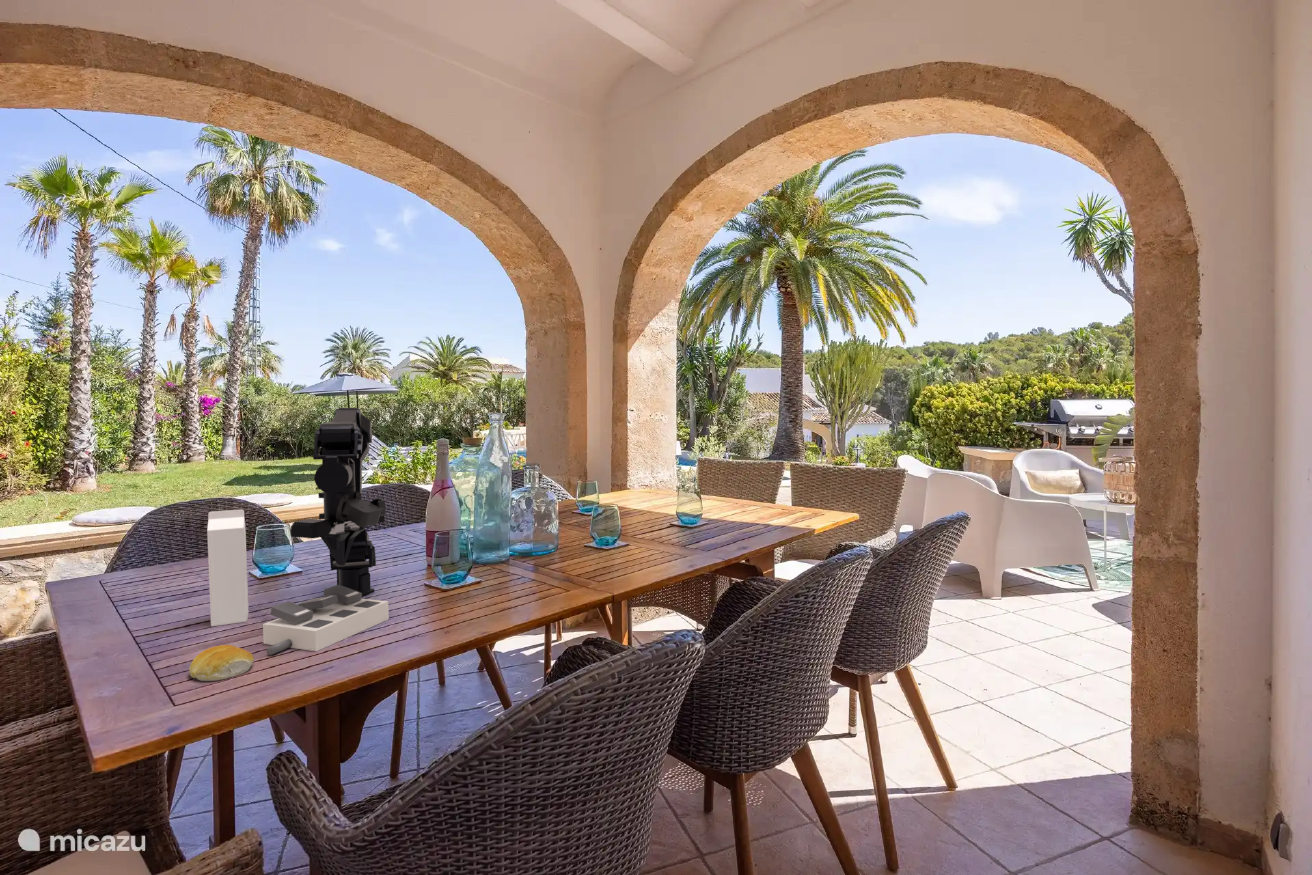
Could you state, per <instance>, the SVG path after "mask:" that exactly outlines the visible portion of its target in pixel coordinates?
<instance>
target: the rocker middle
mask: <svg viewBox="0 0 1312 875" xmlns="http://www.w3.org/2000/svg"><path fill="white" fill-rule="evenodd" d="M335 603H338V598H337V595H334V596H327V597H325V596H323V597H315V598H310V599H308V600H305V601H302V602H299V603H298V604H297V605H299V606H302V607H304V608H307V609H309V610H311V609H318V608H324V607H327V606H329V605H332V604H335Z"/></svg>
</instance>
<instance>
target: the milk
mask: <svg viewBox="0 0 1312 875" xmlns="http://www.w3.org/2000/svg"><path fill="white" fill-rule="evenodd" d="M207 515H208V516H207V517H208V518H207V520H208V521H207V529H206V531H207V532H206V534H207V558H208V581H209V582H208V583H209V584H208V585H209V586H208V588H209V606H210V607H209V611H210V612H209V613H210V626H211V627H218V626H226V625H233V624H240V623H246V622H248V617H249V594H248V593H249V591H248V590H249V589H248V563H247V560H248V558H247V535H246V534H247V533H246V531H247V530H246V520H245V510H244V509H231V510H230V509H227V510H218V511H217V510H215V511H209V512H208V514H207Z"/></svg>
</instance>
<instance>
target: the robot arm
mask: <svg viewBox="0 0 1312 875" xmlns="http://www.w3.org/2000/svg"><path fill="white" fill-rule="evenodd" d="M334 411H335V412H334V417H333V418H332V419H331V421H328V422H321V423H320V424H319V427H318V429H315V432H314V433H315V434H314V442H313V443H314V446H313V453H312V454H313V455H312V459H313V460H315V461H316V460H322V461H321V465H320V466H319V467H318V468H317V470H316V471H315V474H314V476H313V477H314V483H315V485H316V487H317V488H318V489H319V490H320V491H321V492H318V493H317V494H318V499H323V512H322V513H321V512H320V513H319V514H318V518H319V519H318V518H317V519H316V518H306V519H301V520H297V521H294V522H292V524H291V526H290V537H292V538H301V539H318V538H320V539H321V540H322V541H323V543H324V544H325V545H326V548H328V550H329V562H330V571H336V585H341V586H344V587H347V588H349V589H352V590H355V591H358V592H360V593H362V596H364V595H368V594H370V593H372V592H375V588H371V573H370V568H373V567H375V566H377V557H376V554H377V553H376V547H375V546H374V544H373V542H372V540H370V534H369V533H368V531H367V530H366V528H367V527H369V526H372V525H375V526H376V525H378V524H381V523H385V520H386V519H385V516H386V509H387V508H386V501H385V499H383V498H381V497H378V498H377V497H376V498H373V499H372V500H364V499H363V498H362V497H363V496H362V494H363V489H362V487H363V485H362V482H363V481H362V480H363V461H364V460H365V458H366V457H367V455H368V454H369V452H370V444H372V443H373V428H372V423H371V420H370V419H369V418H367V416H364V415H363V414H362V411H361V408H358V407H339V408H335V410H334Z"/></svg>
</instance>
